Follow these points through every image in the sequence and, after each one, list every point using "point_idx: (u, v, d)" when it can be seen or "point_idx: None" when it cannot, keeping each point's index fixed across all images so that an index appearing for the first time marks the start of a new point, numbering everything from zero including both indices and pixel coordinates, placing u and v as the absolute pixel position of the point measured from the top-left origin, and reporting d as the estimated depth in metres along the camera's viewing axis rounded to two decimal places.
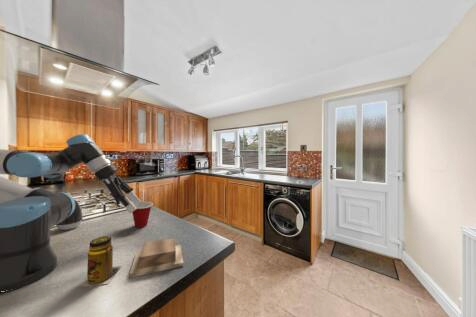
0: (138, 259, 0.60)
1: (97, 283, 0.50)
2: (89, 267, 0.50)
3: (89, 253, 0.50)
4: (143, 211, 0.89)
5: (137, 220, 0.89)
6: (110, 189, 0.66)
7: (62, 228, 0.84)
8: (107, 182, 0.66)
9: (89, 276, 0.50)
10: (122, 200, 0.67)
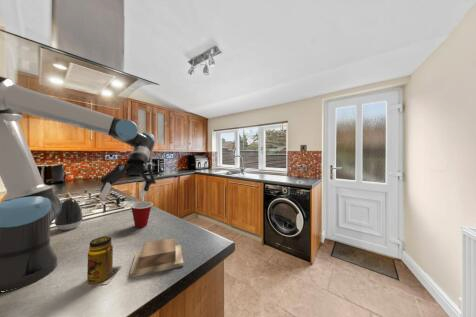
0: (138, 259, 0.60)
1: (97, 283, 0.50)
2: (89, 267, 0.50)
3: (89, 253, 0.50)
4: (143, 211, 0.89)
5: (137, 220, 0.89)
6: None
7: (62, 228, 0.84)
8: (151, 167, 0.75)
9: (89, 276, 0.50)
10: (149, 184, 0.69)
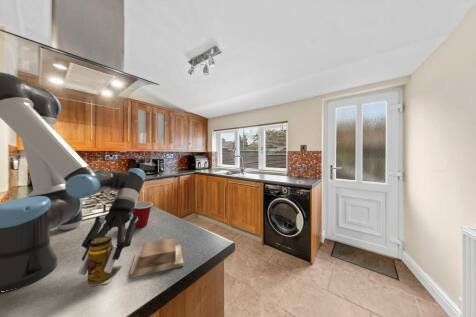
0: (138, 259, 0.60)
1: (97, 283, 0.50)
2: (89, 266, 0.50)
3: (89, 253, 0.50)
4: (143, 211, 0.89)
5: None
6: (132, 228, 0.59)
7: (62, 228, 0.84)
8: (135, 220, 0.61)
9: (89, 276, 0.50)
10: (121, 249, 0.55)
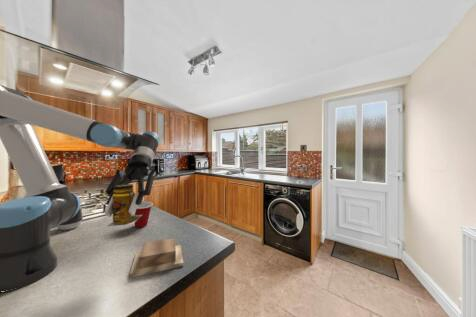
0: (138, 259, 0.60)
1: (122, 223, 0.53)
2: (114, 208, 0.52)
3: (114, 195, 0.53)
4: (143, 211, 0.89)
5: (137, 220, 0.89)
6: (151, 180, 0.61)
7: (62, 228, 0.84)
8: (153, 174, 0.64)
9: (115, 217, 0.52)
10: (142, 196, 0.57)
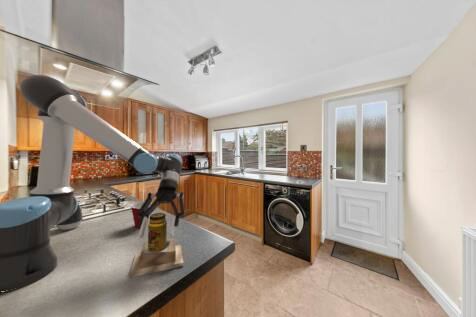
0: (138, 259, 0.60)
1: (157, 251, 0.58)
2: (150, 237, 0.58)
3: (150, 225, 0.58)
4: None
5: (137, 220, 0.89)
6: (182, 202, 0.68)
7: (62, 228, 0.84)
8: (182, 196, 0.70)
9: (150, 245, 0.58)
10: (179, 218, 0.64)
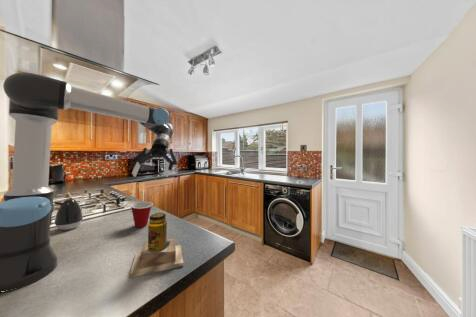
0: (138, 259, 0.60)
1: (157, 251, 0.58)
2: (150, 237, 0.58)
3: (150, 225, 0.58)
4: (143, 211, 0.89)
5: (137, 220, 0.89)
6: (173, 155, 0.84)
7: (62, 228, 0.84)
8: (172, 151, 0.86)
9: (150, 245, 0.58)
10: (172, 165, 0.80)
